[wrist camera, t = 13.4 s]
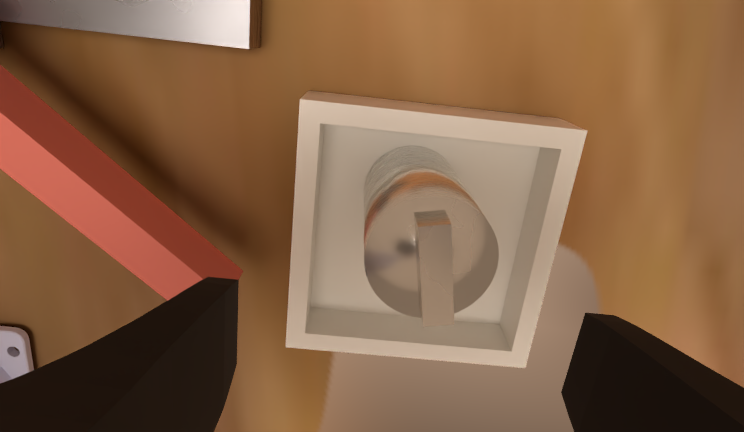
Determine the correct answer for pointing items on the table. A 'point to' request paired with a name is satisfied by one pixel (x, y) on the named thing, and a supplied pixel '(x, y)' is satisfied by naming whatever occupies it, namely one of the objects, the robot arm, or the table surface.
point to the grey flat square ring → (148, 18)
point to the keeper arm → (101, 196)
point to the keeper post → (0, 39)
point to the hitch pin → (425, 237)
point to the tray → (484, 183)
